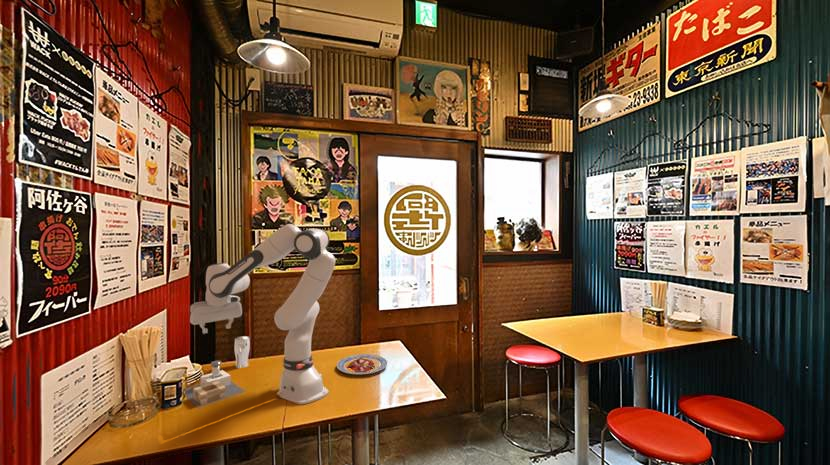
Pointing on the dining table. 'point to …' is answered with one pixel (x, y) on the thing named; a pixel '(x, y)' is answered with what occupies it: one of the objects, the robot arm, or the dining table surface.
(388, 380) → the dining table surface
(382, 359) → the ceramic plate
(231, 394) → the rubber mat
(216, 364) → the steel pin
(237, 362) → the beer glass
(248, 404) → the dining table surface
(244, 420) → the dining table surface
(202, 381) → the socket block
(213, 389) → the mount block
